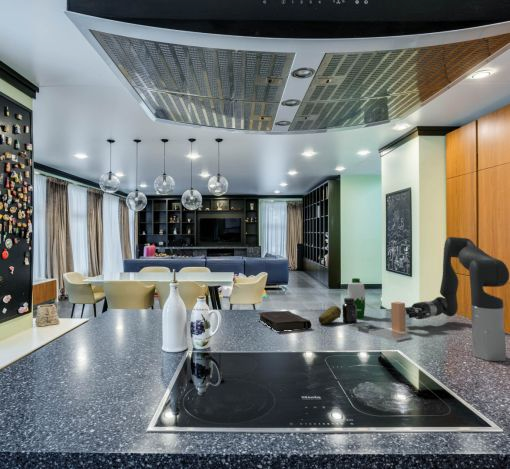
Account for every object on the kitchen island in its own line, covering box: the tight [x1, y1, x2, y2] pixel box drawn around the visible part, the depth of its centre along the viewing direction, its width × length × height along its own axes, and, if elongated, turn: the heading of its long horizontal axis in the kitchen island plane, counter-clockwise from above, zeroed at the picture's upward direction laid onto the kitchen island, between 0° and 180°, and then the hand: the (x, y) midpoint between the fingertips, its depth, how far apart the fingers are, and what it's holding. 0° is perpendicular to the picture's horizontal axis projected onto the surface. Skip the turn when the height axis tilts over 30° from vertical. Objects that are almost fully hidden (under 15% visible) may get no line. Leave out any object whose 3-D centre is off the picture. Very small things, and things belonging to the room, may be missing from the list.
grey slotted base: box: [347, 322, 412, 342], centre depth 152 cm, size 26×9×2 cm, turn 30°
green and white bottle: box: [347, 277, 366, 319], centre depth 188 cm, size 9×9×20 cm
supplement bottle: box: [341, 297, 358, 325], centre depth 175 cm, size 7×7×12 cm
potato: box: [318, 305, 342, 325], centre depth 175 cm, size 8×13×8 cm, turn 105°
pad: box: [387, 327, 414, 334], centre depth 156 cm, size 9×9×1 cm
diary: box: [257, 310, 312, 331], centre depth 173 cm, size 19×25×5 cm
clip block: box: [390, 301, 407, 332], centre depth 156 cm, size 4×4×12 cm
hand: (400, 313), depth 157 cm, fingers open, 8 cm apart
